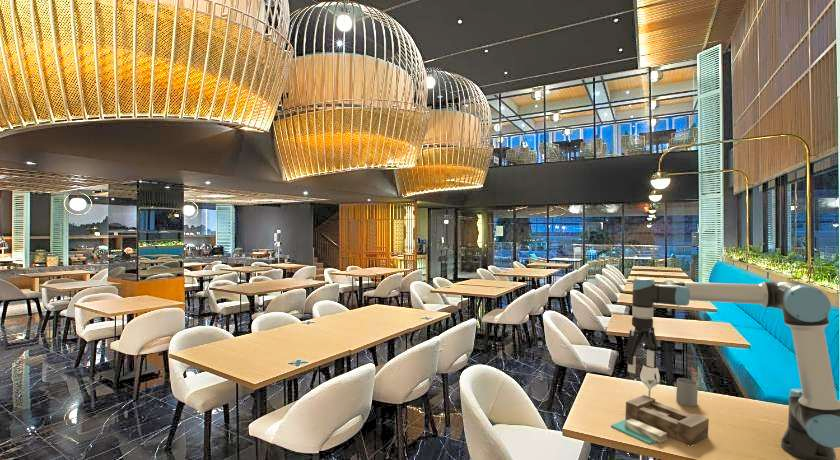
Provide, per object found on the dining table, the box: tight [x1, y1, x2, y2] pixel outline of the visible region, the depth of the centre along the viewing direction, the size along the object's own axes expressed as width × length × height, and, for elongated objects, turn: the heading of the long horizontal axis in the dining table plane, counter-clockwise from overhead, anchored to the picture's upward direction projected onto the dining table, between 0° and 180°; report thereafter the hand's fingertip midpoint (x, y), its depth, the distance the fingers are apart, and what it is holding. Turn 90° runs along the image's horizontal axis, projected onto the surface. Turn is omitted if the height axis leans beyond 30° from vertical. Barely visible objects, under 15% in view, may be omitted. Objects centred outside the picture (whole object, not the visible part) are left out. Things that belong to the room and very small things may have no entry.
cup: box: [675, 377, 699, 407], centre depth 202 cm, size 8×8×10 cm
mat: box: [610, 419, 656, 445], centre depth 173 cm, size 16×12×1 cm
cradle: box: [624, 394, 710, 447], centre depth 177 cm, size 26×14×8 cm, turn 33°
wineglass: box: [639, 363, 661, 397], centre depth 199 cm, size 8×8×18 cm
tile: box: [625, 419, 668, 443], centre depth 170 cm, size 14×5×2 cm, turn 34°
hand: (641, 369), depth 172 cm, fingers open, 13 cm apart
